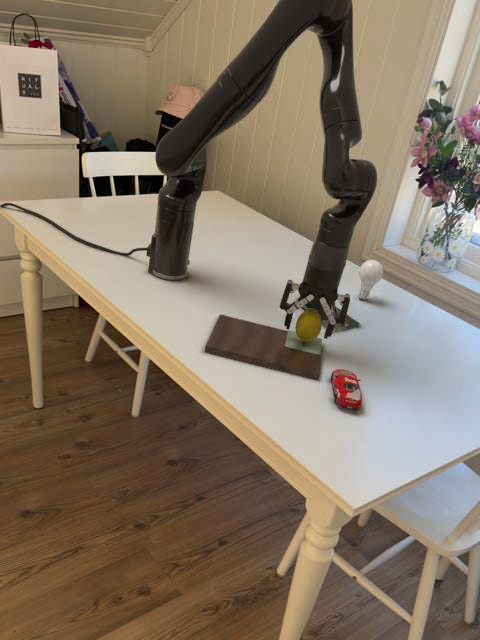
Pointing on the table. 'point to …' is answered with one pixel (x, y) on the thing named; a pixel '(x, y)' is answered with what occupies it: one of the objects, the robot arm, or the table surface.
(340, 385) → the race car
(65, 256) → the table surface
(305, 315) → the lemon
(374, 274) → the lightbulb
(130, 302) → the table surface
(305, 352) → the board
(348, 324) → the eiffel tower souvenir
